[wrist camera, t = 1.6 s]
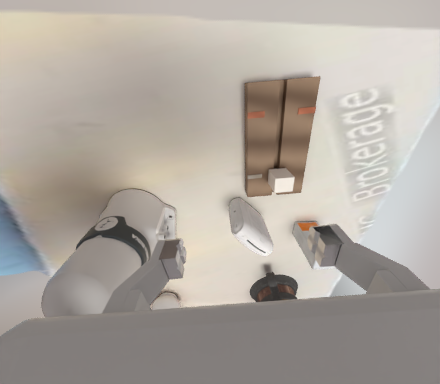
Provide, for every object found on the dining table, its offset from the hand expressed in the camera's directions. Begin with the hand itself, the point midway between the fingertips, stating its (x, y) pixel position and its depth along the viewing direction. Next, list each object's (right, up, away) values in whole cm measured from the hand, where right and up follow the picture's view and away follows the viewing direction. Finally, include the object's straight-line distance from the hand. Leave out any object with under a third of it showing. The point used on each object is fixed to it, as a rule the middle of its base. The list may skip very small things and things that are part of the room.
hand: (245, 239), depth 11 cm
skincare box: (+21, -6, +38) cm, 44 cm away
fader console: (+10, +13, +26) cm, 31 cm away
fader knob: (+10, +7, +27) cm, 30 cm away
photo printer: (+5, -2, +34) cm, 35 cm away
